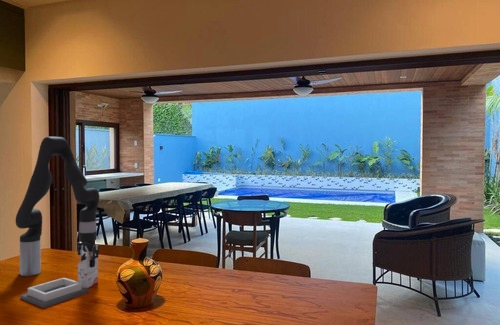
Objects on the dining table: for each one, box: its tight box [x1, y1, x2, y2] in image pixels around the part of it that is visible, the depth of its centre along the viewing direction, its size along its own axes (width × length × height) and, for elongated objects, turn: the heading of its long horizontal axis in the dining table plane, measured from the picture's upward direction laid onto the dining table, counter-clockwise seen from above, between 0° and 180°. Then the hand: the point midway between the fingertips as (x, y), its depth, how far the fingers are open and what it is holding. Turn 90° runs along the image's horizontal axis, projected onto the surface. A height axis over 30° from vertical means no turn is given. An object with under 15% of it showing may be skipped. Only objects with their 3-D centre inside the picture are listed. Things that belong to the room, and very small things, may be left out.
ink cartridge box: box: [77, 254, 99, 289], centre depth 177 cm, size 9×5×15 cm, turn 168°
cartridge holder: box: [20, 277, 89, 309], centre depth 163 cm, size 18×20×4 cm
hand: (88, 265), depth 177 cm, fingers closed on ink cartridge box, 6 cm apart
